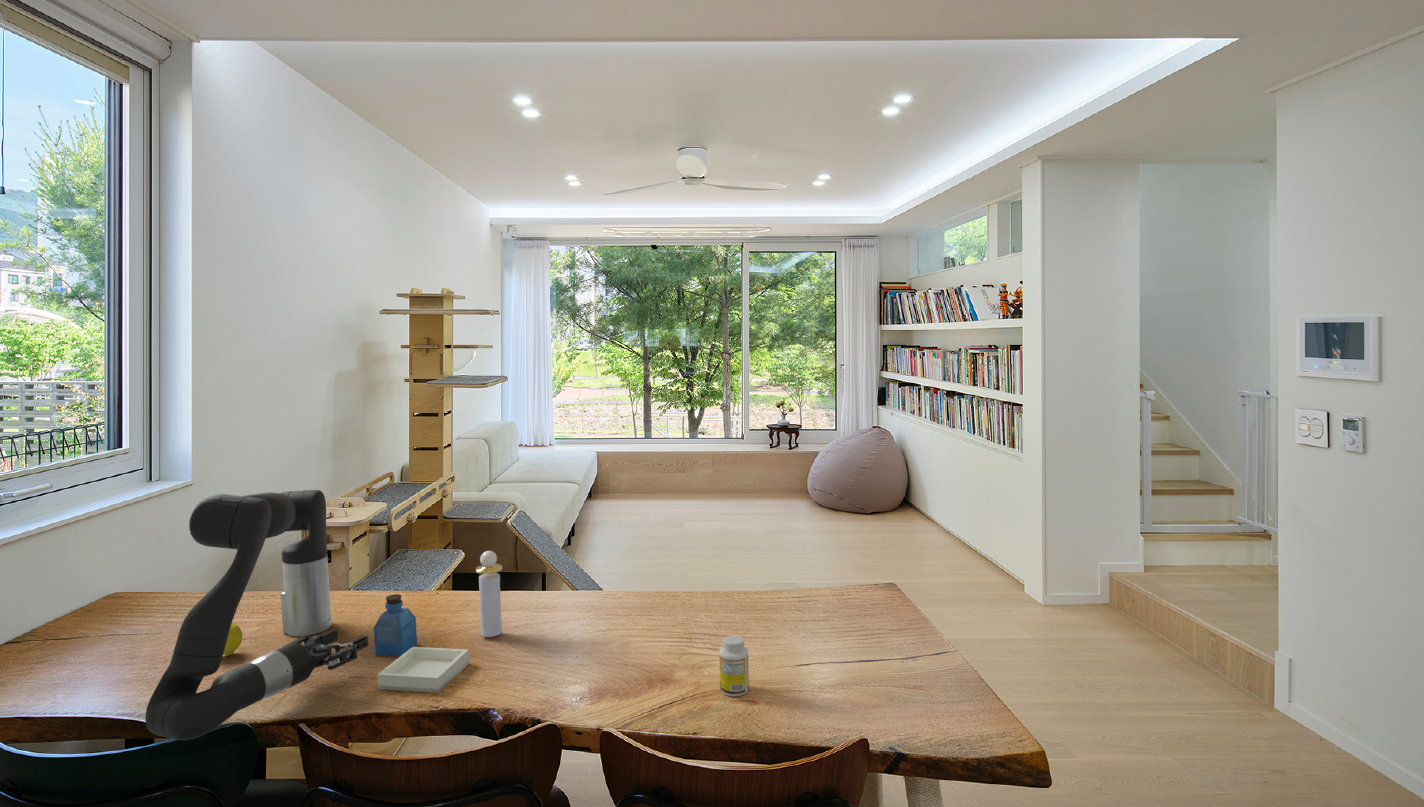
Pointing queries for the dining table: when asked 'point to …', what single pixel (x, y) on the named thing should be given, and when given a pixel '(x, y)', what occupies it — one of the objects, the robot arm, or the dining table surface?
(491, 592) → the perfume bottle
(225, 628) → the robot arm
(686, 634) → the dining table surface
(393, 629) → the perfume bottle
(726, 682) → the supplement bottle
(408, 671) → the dish
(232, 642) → the fruit
